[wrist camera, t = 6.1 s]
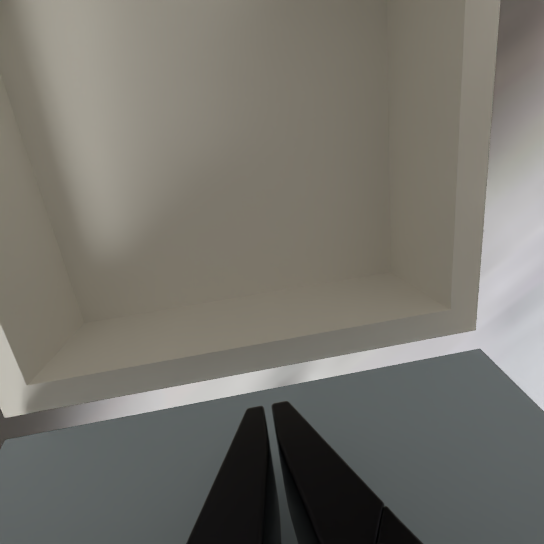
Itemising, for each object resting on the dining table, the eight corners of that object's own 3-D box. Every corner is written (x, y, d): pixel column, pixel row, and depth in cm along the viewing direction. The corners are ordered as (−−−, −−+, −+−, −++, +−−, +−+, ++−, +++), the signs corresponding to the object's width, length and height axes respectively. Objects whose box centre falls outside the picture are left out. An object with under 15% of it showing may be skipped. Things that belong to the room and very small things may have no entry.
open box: (404, 284, 17) (475, 330, 12) (73, 340, 15) (4, 418, 10) (404, -69, 12) (516, -219, 8) (-59, -35, 11) (-280, -192, 6)
